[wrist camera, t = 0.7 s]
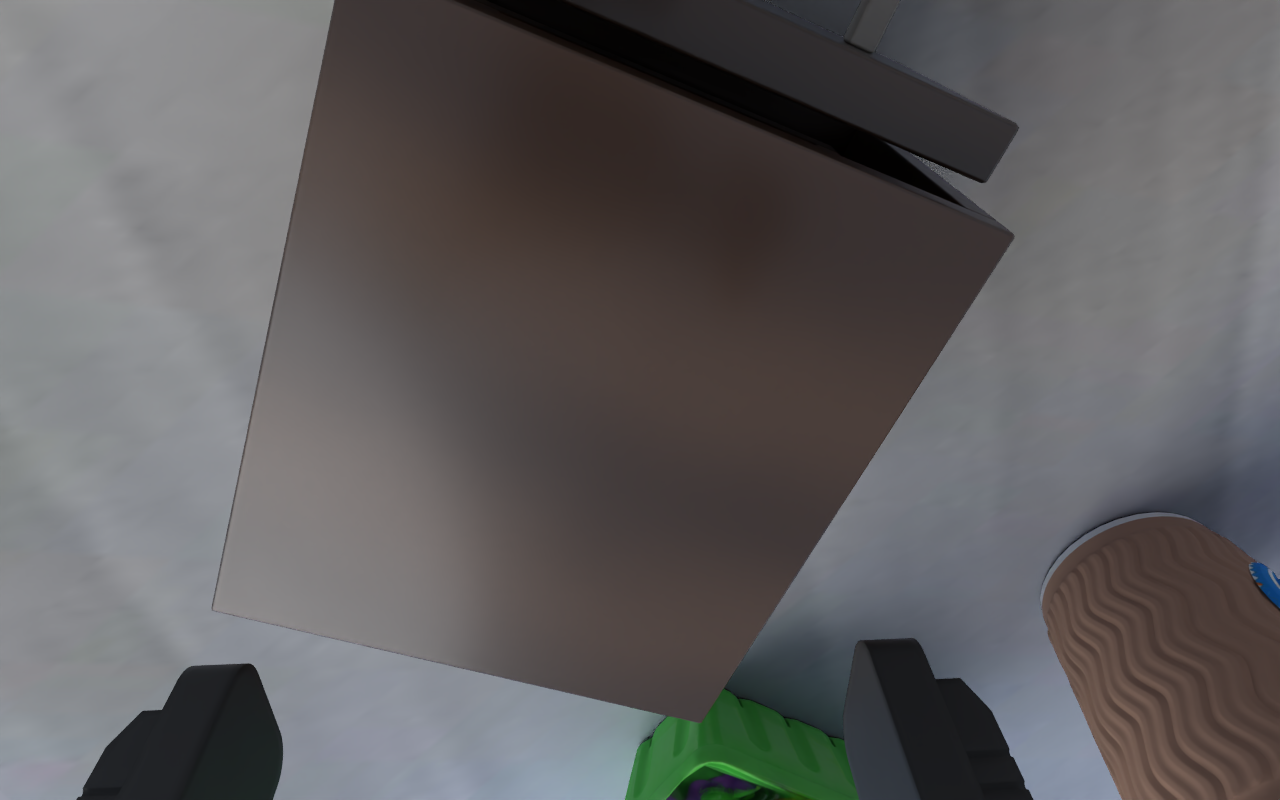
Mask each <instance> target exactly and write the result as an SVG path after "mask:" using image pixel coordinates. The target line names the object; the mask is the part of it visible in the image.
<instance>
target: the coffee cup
mask: <svg viewBox="0 0 1280 800" xmlns="http://www.w3.org/2000/svg"><path fill="white" fill-rule="evenodd" d="M1040 602H1041V610H1042V613H1043V617H1044V620H1045V623H1046V625H1047V627H1048V637H1049V639H1050V641H1051V643H1052V645H1053V647H1054V650H1055V652H1056V654H1057V657H1058V659H1059V661H1060V663H1061V665H1062V667H1063V669H1064V671H1065V673H1066V675H1067V677H1068V679H1069V682H1070V685H1071V687H1072V690H1073V692H1074V694H1075V696H1076V699H1077V701H1078V703H1079V705H1080V707H1081V709H1082V712H1083V714H1084V716H1085V719H1086V721H1087V723H1088V725H1089V728H1090V730H1091V732H1092V735H1093V737H1094V739H1095V741H1096V744H1097V746H1098V748H1099V750H1100V752H1101V755H1102V757H1103V759H1104V761H1105V763H1106V765H1107V768H1108V770H1109V772H1110V774H1111V776H1112V778H1113V780H1114V782H1115V785H1116V787H1117V789H1118V791H1119V794H1120V796H1121V798H1122V800H1280V579H1277V577H1276V575H1275V574H1274V572H1272V571H1271V570H1270V569H1269V568H1267V567H1266V566H1265V565H1263V564H1261V563H1257V561H1255V560H1254V559H1253V558H1251V557H1250V556H1249V555H1247V554H1246V553H1245V552H1244V551H1242V550H1241V549H1240V548H1239V547H1237V546H1236V545H1235V544H1233V543H1232V542H1231V541H1229V540H1228V539H1227V538H1225V537H1222V536H1220V535H1219V534H1217V533H1216V532H1213V531H1211V530H1210V529H1208V528H1207V527H1205V526H1204V525H1202V524H1201V523H1199V522H1197V521H1195V520H1193V519H1191V518H1189V517H1187V516H1182V515H1178V514H1174V513H1161V512H1153V513H1144V514H1136V515H1132V516H1128V517H1124V518H1120V519H1117V520H1114V521H1112V522H1109V523H1107V524H1104V525H1102V526H1100V527H1098V528H1096V529H1094V530H1093V531H1091V532H1089V533H1087V534H1085V535H1084V536H1083V537H1081V538H1080V539H1079V540H1077V541H1076V542H1075V543H1073V544H1072V545H1071V546H1070V547H1069V548H1068V549H1067V550H1066V551H1065V552H1064V553H1063V554H1062V555H1061V556H1060V557H1059V558H1058V559H1057V560H1056V562H1055V563H1054V565H1053V566H1052V567H1051V569H1050V570H1049V572H1048V574H1047V576H1046V578H1045V580H1044V583H1043V585H1042V590H1041V595H1040Z"/></svg>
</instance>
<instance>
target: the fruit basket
mask: <svg viewBox="0 0 1280 800" xmlns="http://www.w3.org/2000/svg"><path fill="white" fill-rule="evenodd" d="M625 800H859V798H858V794H857V790H856V787H855V783H854V780H853V776H852V773H851V769H850V766H849V762H848V758H847V754H846V748H845V742H844V740H842V739H840V738H833V737H829V738H828V736H827V735H826V734H824V733H823V732H822V731H821V730H819V729H816V728H814V727H812V726H810V725H807V724H805V723H802V722H800V721H798V720H793V719H788V718H785V719H784V718H783V717H782V716H781V715H780V714H779V713H778V712H776V711H774V710H772V709H770V708H767V707H765V706H763V705H760V704H758V703H756V702H753V701H751V700H744V699H737V697H736V696H734V695H733V694H732V693H731V692H729V691H727V690H725V689H723V690H722V692H721V693H720V695H719V697H718V698H717V700H716V701H715V703H714V704H713V706H712V707H711V709H710V711H709V712H708V714H707V715H706V717H705V718H704V720H703V721H702V723H696V722H692V721H687V720H683V719H679V718H675V717H670V716H667V717H666V718H665V720H664V721H663V722H662V723H661V724H660V725H659V726H658V727H657V728H656V730H655V732H654V734H653V737H652V738H650V739H648V740H647V741H645V742H643V743H642V744H641V745H640V746H639V747H638V749H637V753H636V757H635V761H634V765H633V769H632V773H631V777H630V781H629V785H628V790H627V794H626V798H625Z"/></svg>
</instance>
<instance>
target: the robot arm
mask: <svg viewBox="0 0 1280 800" xmlns="http://www.w3.org/2000/svg"><path fill="white" fill-rule="evenodd" d="M843 732H844V742H845V748H846V754H847V758H848V762H849V766H850V769H851V773H852V776H853V780H854V783H855V787H856V790H857V794H858V798H859V800H1033V798H1032V796H1031V794H1030V792H1029V790H1026V788H1025V785H1024V782H1025V781H1024V779H1023V777H1022V775H1021V773H1020V770H1019V768H1018V766H1017V764H1016V762H1015V760H1014V758H1013V757H1011V756H1010V753H1009V747H1008V745H1007V743H1006V741H1005V739H1004V736H1003V734H1002V732H1001V730H1000V728H999V726H998V724H997V722H996V720H995V717H994V715H993V713H992V711H991V710H990V709H989V708H988V707H987V706H986V705H985V704H984V703H983V701H982V700H981V699H980V698H979V697H978V696H977V695H976V694H975V693H974V692H973V691H972V690H971V689H970V688H969V687H968V686H967V685H966V684H965V683H964V682H963V681H962V680H961V679H960V678H952V679H935V677H934V675H933V673H932V670H931V668H930V665H929V663H928V661H927V658H926V656H925V654H924V651H923V649H922V647H921V645H920V644H919V642H918V641H917V640H915V639H914V638H905V639H881V640H860V641H858V642H857V644H856V647H855V651H854V656H853V662H852V668H851V673H850V679H849V684H848V690H847V695H846V701H845V706H844V713H843ZM282 761H283V743H282V737H281V733H280V730H279V727H278V725H277V722H276V719H275V717H274V714H273V712H272V709H271V706H270V704H269V701H268V698H267V696H266V693H265V690H264V688H263V685H262V682H261V680H260V677H259V674H258V672H257V670H256V668H255V667H254V666H253V665H252V664H226V665H202V666H191V667H189V668H187V669H186V670H185V671H184V672H183V673H182V674H181V676H180V677H179V679H178V681H177V682H176V684H175V686H174V688H173V690H172V692H171V694H170V696H169V698H168V700H167V702H166V704H165V705H164V707H163V709H162V710H153V711H142V712H141V713H140V714H139V715H138V716H137V717H136V718H135V719H134V720H133V721H132V722H131V723H130V724H129V725H128V726H127V727H126V728H125V729H124V730H123V731H122V732H121V733H120V734H119V735H118V736H117V737H116V738H115V739H114V740H113V741H112V742H111V743H110V744H109V745H108V746H107V747H106V748H105V750H104V752H103V754H102V755H101V757H100V759H99V761H98V762H97V764H96V766H95V768H94V770H93V771H92V773H91V775H90V777H89V778H88V780H87V782H86V784H85V785H84V787H83V794H82V796H81V797H78V798H77V800H273V797H274V794H275V791H276V789H277V786H278V782H279V779H280V775H281V769H282Z"/></svg>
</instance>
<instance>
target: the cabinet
mask: <svg viewBox="0 0 1280 800" xmlns="http://www.w3.org/2000/svg"><path fill="white" fill-rule="evenodd" d="M486 1H489V2H491V3H494V4H496V5H498V6H501V7H503V8H505V9H508V10H510V11H513V12H515V13H517V14H520V15H522V16H524V17H527V18H529V19H531V20H534V21H536V22H539V23H541V24H543V25H546V26H548V27H550V28H553V29H555V30H558V31H560V32H562V33H565V34H567V35H569V36H572V37H574V38H577V39H579V40H581V41H584V42H586V43H588V44H591V45H593V46H595V47H598V48H600V49H603V50H605V51H607V52H610V53H612V54H614V55H617V56H619V57H622V58H624V59H626V60H629V61H631V62H633V63H636V64H638V65H641V66H643V67H645V68H648V69H650V70H652V71H655V72H657V73H660V74H662V75H664V76H667V77H669V78H671V79H674V80H676V81H678V82H681V83H683V84H686V85H688V86H690V87H693V88H695V89H697V90H700V91H702V92H705V93H707V94H709V95H712V96H714V97H716V98H719V99H721V100H724V101H726V102H728V103H731V104H733V105H735V106H738V107H740V108H742V109H745V110H747V111H750V112H752V113H754V114H757V115H759V116H761V117H764V118H766V119H769V120H771V121H773V122H776V123H778V124H780V125H783V126H785V127H788V128H790V129H792V130H795V131H797V132H799V133H802V134H804V135H807V136H809V137H811V138H814V139H816V140H818V141H821V142H823V143H825V144H828V145H830V146H832V147H833V148H834V149H835V150H836V151H837V152H838V153H839V154H840V155H841V156H840V155H838V154H835V153H833V152H831V151H828V150H826V149H823V148H821V147H819V146H816V145H814V144H812V143H809V142H807V141H804V140H802V139H800V138H797V137H795V136H792V135H790V134H788V133H785V132H783V131H781V130H778V129H776V128H773V127H771V126H769V125H766V124H764V123H762V122H759V121H757V120H754V119H752V118H750V117H747V116H745V115H742V114H740V113H738V112H735V111H733V110H731V109H728V108H726V107H723V106H721V105H719V104H716V103H714V102H712V101H709V100H707V99H704V98H702V97H700V96H697V95H695V94H692V93H690V92H688V91H685V90H683V89H681V88H678V87H676V86H673V85H671V84H669V83H666V82H664V81H661V80H659V79H657V78H654V77H652V76H650V75H647V74H645V73H642V72H640V71H638V70H635V69H633V68H631V67H628V66H626V65H623V64H621V63H619V62H616V61H614V60H611V59H609V58H607V57H604V56H602V55H600V54H597V53H595V52H592V51H590V50H588V49H585V48H583V47H581V46H578V45H576V44H573V43H571V42H569V41H566V40H564V39H561V38H559V37H557V36H554V35H552V34H550V33H547V32H545V31H542V30H540V29H538V28H535V27H533V26H531V25H528V24H526V23H523V22H521V21H519V20H516V19H514V18H511V17H509V16H507V15H504V14H502V13H500V12H497V11H495V10H492V9H490V8H488V7H485V6H483V5H481V4H478V3H476V2H473V1H471V0H335V1H334V6H333V11H332V16H331V21H330V26H329V31H328V36H327V41H326V46H325V50H324V55H323V60H322V65H321V70H320V75H319V80H318V85H317V90H316V95H315V100H314V105H313V110H312V115H311V120H310V125H309V129H308V134H307V139H306V144H305V149H304V154H303V159H302V164H301V169H300V174H299V179H298V184H297V189H296V194H295V199H294V204H293V208H292V213H291V218H290V223H289V228H288V233H287V238H286V243H285V248H284V253H283V258H282V263H281V268H280V273H279V278H278V283H277V287H276V292H275V297H274V302H273V307H272V312H271V317H270V322H269V327H268V332H267V337H266V342H265V347H264V352H263V357H262V362H261V366H260V371H259V376H258V381H257V386H256V391H255V396H254V401H253V406H252V411H251V416H250V421H249V426H248V431H247V436H246V441H245V445H244V450H243V455H242V460H241V465H240V470H239V475H238V480H237V485H236V490H235V495H234V500H233V505H232V510H231V515H230V520H229V524H228V529H227V534H226V539H225V544H224V549H223V554H222V559H221V564H220V569H219V574H218V579H217V584H216V589H215V594H214V599H213V603H212V610H213V611H216V612H221V613H225V614H229V615H233V616H238V617H242V618H246V619H251V620H255V621H259V622H264V623H268V624H272V625H277V626H281V627H285V628H290V629H294V630H298V631H303V632H307V633H311V634H316V635H320V636H324V637H329V638H333V639H337V640H342V641H346V642H350V643H355V644H359V645H363V646H368V647H372V648H376V649H380V650H385V651H389V652H393V653H398V654H402V655H406V656H411V657H415V658H419V659H424V660H428V661H432V662H437V663H441V664H445V665H450V666H454V667H458V668H463V669H467V670H471V671H476V672H480V673H484V674H489V675H493V676H497V677H502V678H506V679H510V680H515V681H519V682H523V683H527V684H532V685H536V686H540V687H545V688H549V689H553V690H558V691H562V692H566V693H571V694H575V695H579V696H584V697H588V698H592V699H597V700H601V701H605V702H610V703H614V704H618V705H623V706H627V707H631V708H636V709H640V710H644V711H649V712H653V713H657V714H662V715H666V716H670V717H675V718H679V719H683V720H687V721H692V722H696V723H702V721H703V720H704V718H705V717H706V715H707V714H708V712H709V711H710V709H711V707H712V706H713V704H714V703H715V701H716V700H717V698H718V697H719V695H720V693H721V692H722V690H723V689H724V687H725V686H726V684H727V683H728V681H729V680H730V678H731V676H732V675H733V673H734V672H735V670H736V669H737V667H738V666H739V664H740V662H741V661H742V659H743V658H744V656H745V655H746V653H747V652H748V650H749V648H750V647H751V645H752V644H753V642H754V641H755V639H756V638H757V636H758V635H759V633H760V631H761V630H762V628H763V627H764V625H765V624H766V622H767V621H768V619H769V617H770V616H771V614H772V613H773V611H774V610H775V608H776V607H777V605H778V604H779V602H780V600H781V599H782V597H783V596H784V594H785V593H786V591H787V590H788V588H789V586H790V585H791V583H792V582H793V580H794V579H795V577H796V576H797V574H798V573H799V571H800V569H801V568H802V566H803V565H804V563H805V562H806V560H807V559H808V557H809V555H810V554H811V552H812V551H813V549H814V548H815V546H816V545H817V543H818V541H819V540H820V538H821V537H822V535H823V534H824V532H825V531H826V529H827V528H828V526H829V524H830V523H831V521H832V520H833V518H834V517H835V515H836V514H837V512H838V510H839V509H840V507H841V506H842V504H843V503H844V501H845V500H846V498H847V497H848V495H849V493H850V492H851V490H852V489H853V487H854V486H855V484H856V483H857V481H858V479H859V478H860V476H861V475H862V473H863V472H864V470H865V469H866V467H867V466H868V464H869V462H870V461H871V459H872V458H873V456H874V455H875V453H876V452H877V450H878V448H879V447H880V445H881V444H882V442H883V441H884V439H885V438H886V436H887V434H888V433H889V431H890V430H891V428H892V427H893V425H894V424H895V422H896V421H897V419H898V417H899V416H900V414H901V413H902V411H903V410H904V408H905V407H906V405H907V403H908V402H909V400H910V399H911V397H912V396H913V394H914V393H915V391H916V390H917V388H918V386H919V385H920V383H921V382H922V380H923V379H924V377H925V376H926V374H927V372H928V371H929V369H930V368H931V366H932V365H933V363H934V362H935V360H936V359H937V357H938V355H939V354H940V352H941V351H942V349H943V348H944V346H945V345H946V343H947V341H948V340H949V338H950V337H951V335H952V334H953V332H954V331H955V329H956V327H957V326H958V324H959V323H960V321H961V320H962V318H963V317H964V315H965V314H966V312H967V310H968V309H969V307H970V306H971V304H972V303H973V301H974V300H975V298H976V296H977V295H978V293H979V292H980V290H981V289H982V287H983V286H984V284H985V283H986V281H987V279H988V278H989V276H990V275H991V273H992V272H993V270H994V269H995V267H996V265H997V264H998V262H999V261H1000V259H1001V258H1002V256H1003V255H1004V253H1005V252H1006V250H1007V248H1008V247H1009V245H1010V244H1011V242H1012V241H1013V239H1014V234H1013V233H1012V232H1010V231H1009V230H1008V229H1007V228H1005V227H1004V226H1003V225H1002V224H1000V223H999V222H997V221H996V220H995V219H994V218H993V217H991V216H990V215H989V214H987V213H986V212H985V211H984V210H982V209H981V208H980V207H979V206H977V205H976V204H975V203H973V202H972V201H971V200H970V199H968V198H967V197H966V196H964V195H963V194H962V193H961V192H959V191H958V190H957V189H956V188H954V187H953V186H952V185H950V184H949V183H948V182H947V181H945V180H944V179H943V178H942V177H940V176H939V175H938V174H936V173H935V172H934V171H933V170H931V169H930V168H929V167H927V166H926V165H925V164H924V163H922V162H921V161H920V160H919V159H917V158H916V157H915V156H913V155H912V154H911V153H910V152H908V151H905V150H903V149H901V148H898V147H896V146H894V145H891V144H889V143H887V142H884V141H882V140H880V139H877V138H875V137H873V136H870V135H868V134H866V133H863V132H861V131H859V130H856V129H854V128H852V127H850V126H847V125H845V124H843V123H840V122H838V121H836V120H833V119H831V118H829V117H826V116H824V115H822V114H819V113H817V112H815V111H812V110H810V109H808V108H805V107H803V106H801V105H798V104H796V103H794V102H791V101H789V100H787V99H784V98H782V97H780V96H777V95H775V94H773V93H771V92H768V91H766V90H764V89H761V88H759V87H757V86H754V85H752V84H750V83H747V82H745V81H743V80H740V79H738V78H736V77H733V76H731V75H729V74H726V73H724V72H722V71H719V70H717V69H715V68H712V67H710V66H708V65H705V64H703V63H701V62H698V61H696V60H694V59H691V58H689V57H687V56H685V55H682V54H680V53H678V52H675V51H673V50H671V49H668V48H666V47H664V46H661V45H659V44H657V43H654V42H652V41H650V40H647V39H645V38H643V37H640V36H638V35H636V34H633V33H631V32H629V31H626V30H624V29H622V28H619V27H617V26H615V25H612V24H610V23H608V22H606V21H603V20H601V19H599V18H596V17H594V16H592V15H589V14H587V13H585V12H582V11H580V10H578V9H575V8H573V7H571V6H568V5H566V4H564V3H561V2H559V1H557V0H486Z"/></svg>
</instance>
